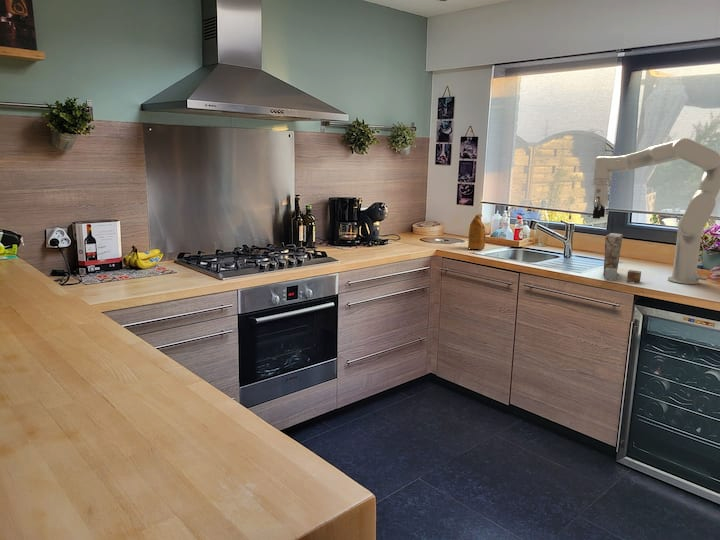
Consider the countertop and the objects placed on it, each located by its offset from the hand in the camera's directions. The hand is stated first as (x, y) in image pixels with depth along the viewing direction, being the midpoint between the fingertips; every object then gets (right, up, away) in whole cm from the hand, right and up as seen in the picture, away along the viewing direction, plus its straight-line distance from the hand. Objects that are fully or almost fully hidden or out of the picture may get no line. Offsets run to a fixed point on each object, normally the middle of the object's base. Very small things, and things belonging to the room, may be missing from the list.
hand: (598, 217), depth 270 cm
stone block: (+7, -28, +2) cm, 29 cm away
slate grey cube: (+2, -30, -9) cm, 32 cm away
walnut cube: (+10, -31, -15) cm, 36 cm away
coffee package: (-44, -13, +75) cm, 88 cm away
